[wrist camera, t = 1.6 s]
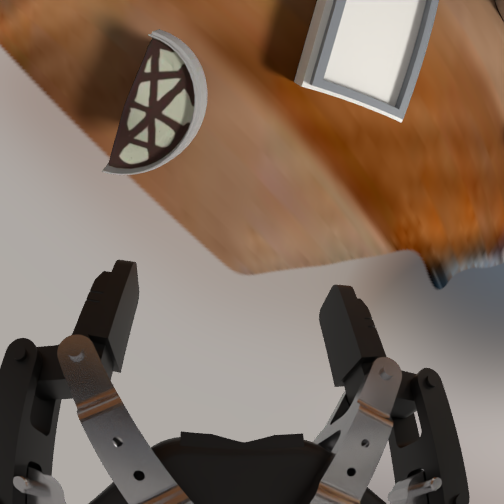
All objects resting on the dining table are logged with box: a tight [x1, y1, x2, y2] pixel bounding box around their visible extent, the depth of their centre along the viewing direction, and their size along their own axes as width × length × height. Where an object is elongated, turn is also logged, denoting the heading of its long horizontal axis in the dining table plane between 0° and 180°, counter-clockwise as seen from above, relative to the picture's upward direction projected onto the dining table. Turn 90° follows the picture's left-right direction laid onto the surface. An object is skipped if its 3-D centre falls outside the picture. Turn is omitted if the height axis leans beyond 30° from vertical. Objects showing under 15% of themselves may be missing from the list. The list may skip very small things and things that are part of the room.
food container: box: [102, 29, 207, 175], centre depth 22 cm, size 12×6×10 cm, turn 153°
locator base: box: [294, 0, 439, 123], centre depth 19 cm, size 16×11×5 cm, turn 167°
